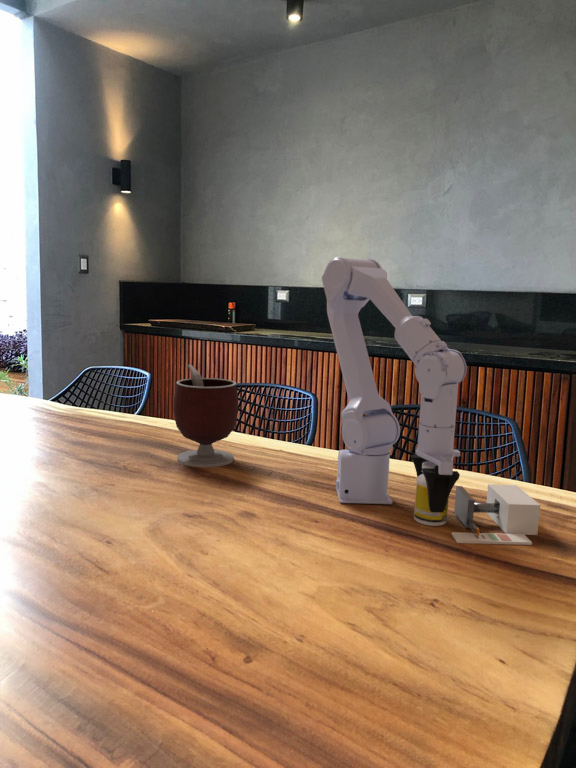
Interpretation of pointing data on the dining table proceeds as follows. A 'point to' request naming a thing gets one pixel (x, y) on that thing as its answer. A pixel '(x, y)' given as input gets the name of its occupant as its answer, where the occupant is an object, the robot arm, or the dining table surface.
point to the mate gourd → (205, 417)
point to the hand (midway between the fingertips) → (431, 504)
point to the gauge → (507, 517)
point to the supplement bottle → (427, 503)
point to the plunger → (471, 508)
